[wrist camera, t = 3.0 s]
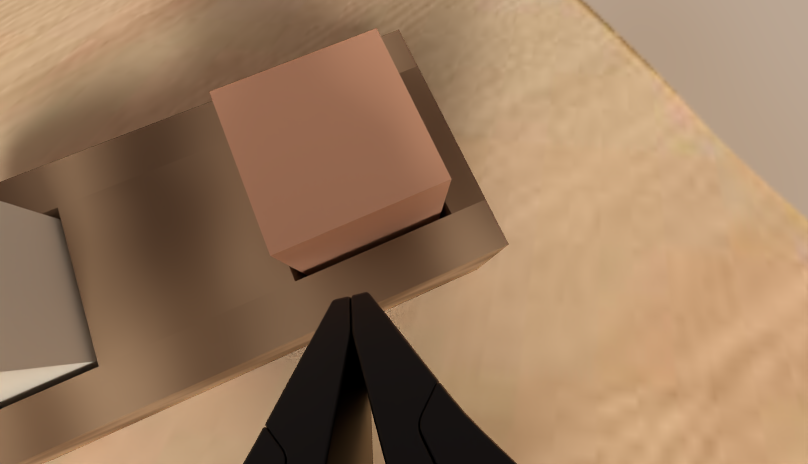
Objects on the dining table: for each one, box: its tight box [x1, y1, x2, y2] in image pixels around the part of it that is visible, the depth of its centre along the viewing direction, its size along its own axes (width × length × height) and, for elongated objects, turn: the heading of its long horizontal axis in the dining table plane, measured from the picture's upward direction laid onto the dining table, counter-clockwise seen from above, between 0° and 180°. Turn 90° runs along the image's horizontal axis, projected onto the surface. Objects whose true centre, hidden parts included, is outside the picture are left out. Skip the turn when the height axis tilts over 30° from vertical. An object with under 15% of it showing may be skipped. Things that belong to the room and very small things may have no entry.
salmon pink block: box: [209, 28, 451, 276], centre depth 16 cm, size 6×6×7 cm
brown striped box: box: [0, 30, 508, 464], centre depth 19 cm, size 24×11×7 cm, turn 114°
